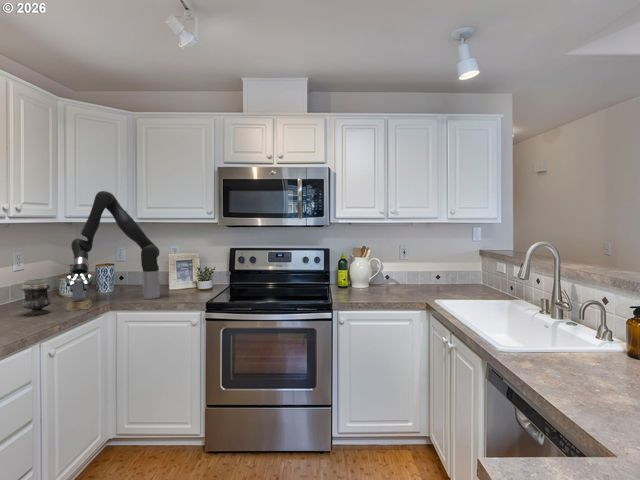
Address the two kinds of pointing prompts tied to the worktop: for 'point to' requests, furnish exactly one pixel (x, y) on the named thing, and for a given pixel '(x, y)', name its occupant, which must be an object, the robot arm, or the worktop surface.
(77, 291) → the housing
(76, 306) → the tan flat rounded piece
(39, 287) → the apothecary jar
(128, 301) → the worktop surface
